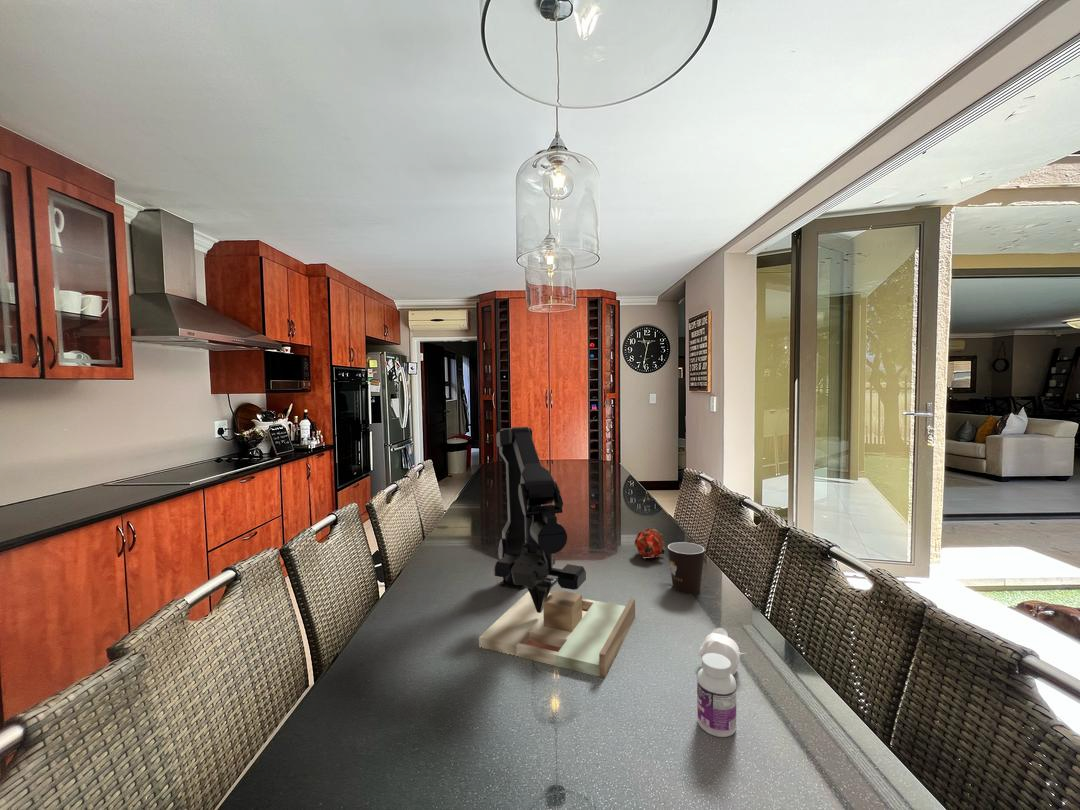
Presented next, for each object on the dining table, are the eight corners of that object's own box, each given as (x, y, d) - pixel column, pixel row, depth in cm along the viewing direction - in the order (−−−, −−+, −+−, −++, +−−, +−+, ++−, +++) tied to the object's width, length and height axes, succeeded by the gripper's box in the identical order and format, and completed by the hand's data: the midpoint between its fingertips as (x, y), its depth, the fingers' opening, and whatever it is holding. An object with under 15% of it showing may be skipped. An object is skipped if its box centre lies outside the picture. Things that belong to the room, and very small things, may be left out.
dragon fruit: (654, 554, 142) (651, 574, 131) (630, 537, 143) (626, 556, 132) (670, 534, 139) (669, 553, 128) (647, 517, 141) (643, 534, 129)
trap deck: (479, 647, 89) (478, 626, 89) (530, 597, 110) (530, 580, 110) (605, 678, 79) (604, 654, 79) (635, 616, 100) (635, 598, 100)
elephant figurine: (700, 653, 86) (699, 621, 86) (747, 663, 82) (747, 630, 82) (695, 673, 80) (695, 639, 80) (746, 685, 76) (746, 649, 76)
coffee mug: (707, 597, 109) (707, 555, 108) (669, 594, 110) (669, 553, 110) (700, 577, 120) (700, 539, 120) (666, 575, 122) (665, 537, 122)
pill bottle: (691, 713, 70) (690, 650, 70) (725, 711, 70) (724, 648, 70) (707, 740, 64) (706, 672, 64) (743, 737, 65) (743, 670, 65)
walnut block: (543, 626, 93) (543, 601, 93) (555, 613, 98) (554, 589, 98) (571, 632, 90) (571, 606, 90) (582, 618, 96) (581, 594, 95)
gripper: (479, 543, 92) (480, 620, 93) (566, 556, 85) (567, 640, 85) (506, 528, 103) (507, 598, 103) (586, 538, 95) (587, 613, 95)
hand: (539, 611), depth 96 cm, fingers closed
